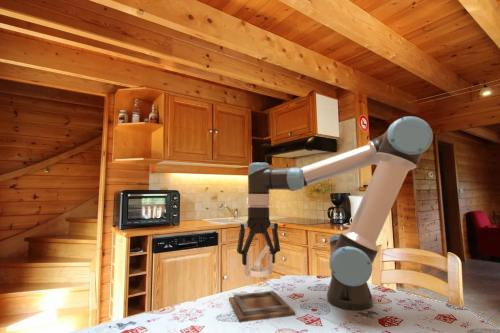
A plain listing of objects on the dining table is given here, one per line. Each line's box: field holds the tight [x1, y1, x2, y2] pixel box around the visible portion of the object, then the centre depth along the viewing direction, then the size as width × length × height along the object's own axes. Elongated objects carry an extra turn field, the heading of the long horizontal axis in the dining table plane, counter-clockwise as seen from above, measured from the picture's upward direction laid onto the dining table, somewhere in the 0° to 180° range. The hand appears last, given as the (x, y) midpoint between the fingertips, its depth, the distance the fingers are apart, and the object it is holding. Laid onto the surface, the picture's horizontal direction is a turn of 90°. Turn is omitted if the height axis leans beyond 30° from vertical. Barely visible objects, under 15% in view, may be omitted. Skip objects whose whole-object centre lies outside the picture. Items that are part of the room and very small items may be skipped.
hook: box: [249, 244, 271, 278], centre depth 93 cm, size 8×12×7 cm
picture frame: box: [228, 290, 296, 323], centre depth 92 cm, size 18×18×2 cm
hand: (258, 273), depth 93 cm, fingers closed on hook, 8 cm apart
